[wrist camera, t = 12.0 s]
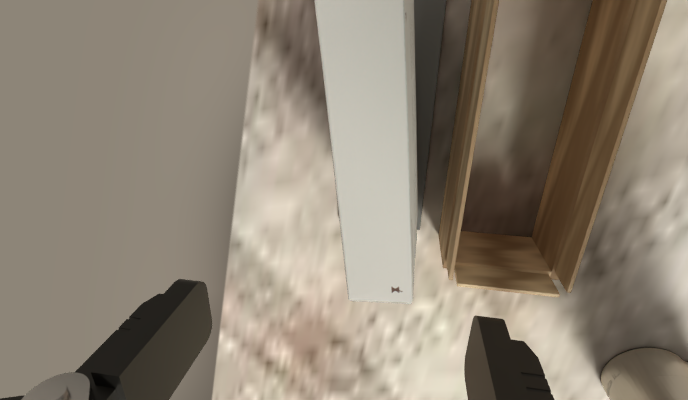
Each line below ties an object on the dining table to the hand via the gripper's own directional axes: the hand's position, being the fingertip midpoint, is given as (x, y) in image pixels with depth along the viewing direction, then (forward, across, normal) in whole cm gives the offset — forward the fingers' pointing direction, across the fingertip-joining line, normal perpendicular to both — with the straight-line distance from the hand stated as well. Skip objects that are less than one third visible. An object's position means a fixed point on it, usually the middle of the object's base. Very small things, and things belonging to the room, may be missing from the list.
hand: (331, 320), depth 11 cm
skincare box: (+30, 0, 0) cm, 30 cm away
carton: (+30, -12, 0) cm, 32 cm away
